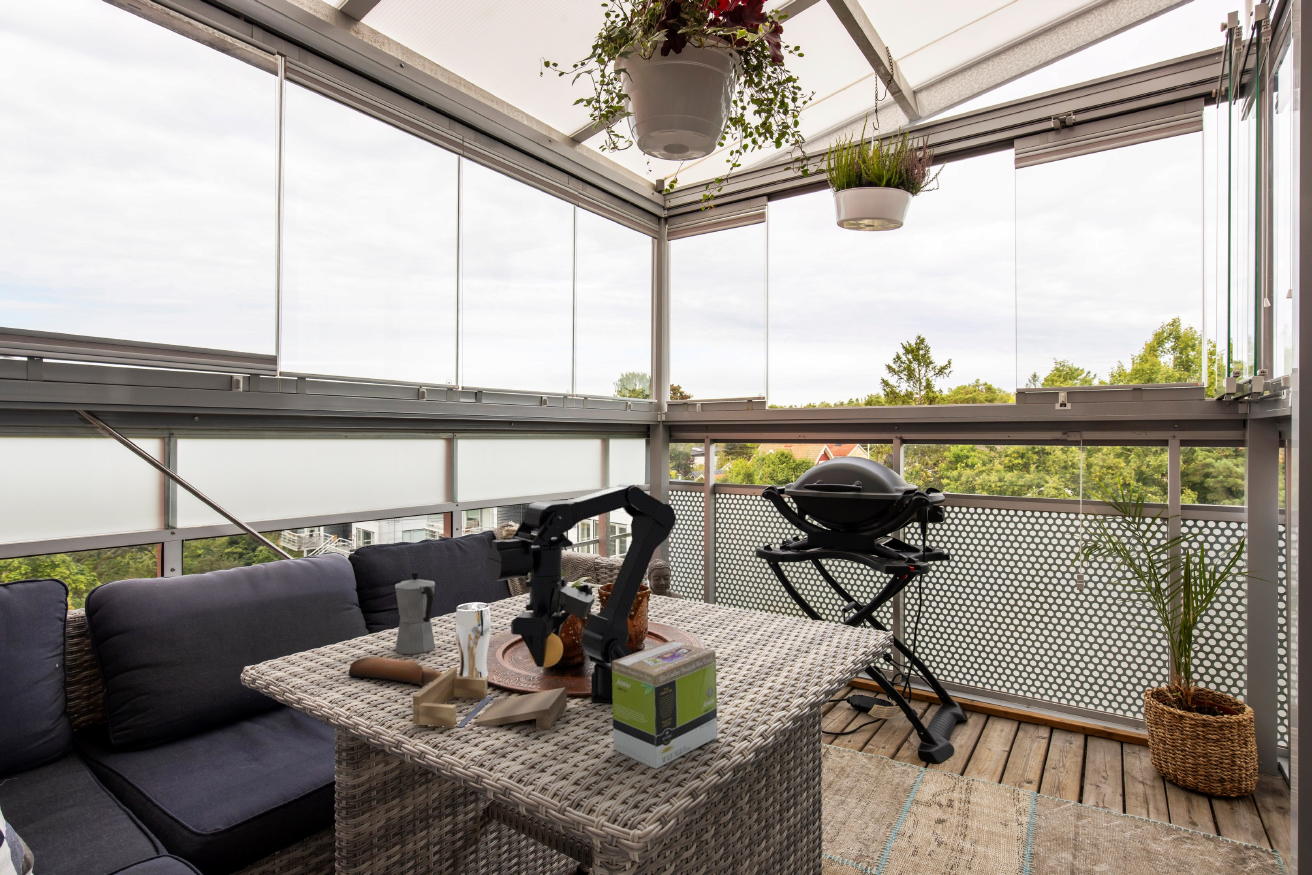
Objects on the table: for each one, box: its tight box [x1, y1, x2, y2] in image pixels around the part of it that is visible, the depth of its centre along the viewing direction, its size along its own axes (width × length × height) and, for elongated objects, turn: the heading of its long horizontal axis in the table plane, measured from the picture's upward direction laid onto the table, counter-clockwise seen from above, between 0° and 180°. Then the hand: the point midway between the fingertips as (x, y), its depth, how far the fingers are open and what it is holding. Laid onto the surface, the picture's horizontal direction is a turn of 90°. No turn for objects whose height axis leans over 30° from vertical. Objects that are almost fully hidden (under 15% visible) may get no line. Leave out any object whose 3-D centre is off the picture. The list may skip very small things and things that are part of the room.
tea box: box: [612, 639, 718, 770], centre depth 112 cm, size 15×10×15 cm, turn 136°
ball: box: [528, 633, 564, 668], centre depth 123 cm, size 6×6×6 cm
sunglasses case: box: [348, 656, 444, 687], centre depth 143 cm, size 18×7×7 cm
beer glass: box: [454, 602, 492, 678], centre depth 141 cm, size 7×7×15 cm
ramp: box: [473, 686, 568, 731], centre depth 124 cm, size 14×10×5 cm
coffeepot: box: [394, 570, 436, 655], centre depth 160 cm, size 15×9×18 cm, turn 43°
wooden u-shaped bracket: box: [412, 667, 494, 728], centre depth 126 cm, size 9×14×5 cm, turn 170°
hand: (546, 660), depth 123 cm, fingers closed on ball, 6 cm apart
